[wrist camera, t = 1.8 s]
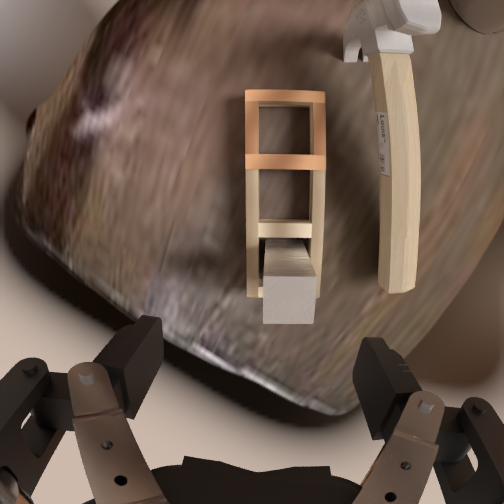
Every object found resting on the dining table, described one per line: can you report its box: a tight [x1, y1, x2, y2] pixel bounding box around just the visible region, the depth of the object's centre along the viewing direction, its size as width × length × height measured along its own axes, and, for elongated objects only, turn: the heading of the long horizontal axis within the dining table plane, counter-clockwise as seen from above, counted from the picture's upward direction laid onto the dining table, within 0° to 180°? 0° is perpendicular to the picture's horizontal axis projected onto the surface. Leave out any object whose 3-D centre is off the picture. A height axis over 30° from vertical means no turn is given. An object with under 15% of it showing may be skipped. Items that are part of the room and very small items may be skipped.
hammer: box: [343, 0, 442, 293], centre depth 25 cm, size 16×5×30 cm
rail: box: [245, 90, 326, 298], centre depth 31 cm, size 8×22×3 cm, turn 0°
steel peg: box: [263, 239, 317, 324], centre depth 29 cm, size 4×4×12 cm
